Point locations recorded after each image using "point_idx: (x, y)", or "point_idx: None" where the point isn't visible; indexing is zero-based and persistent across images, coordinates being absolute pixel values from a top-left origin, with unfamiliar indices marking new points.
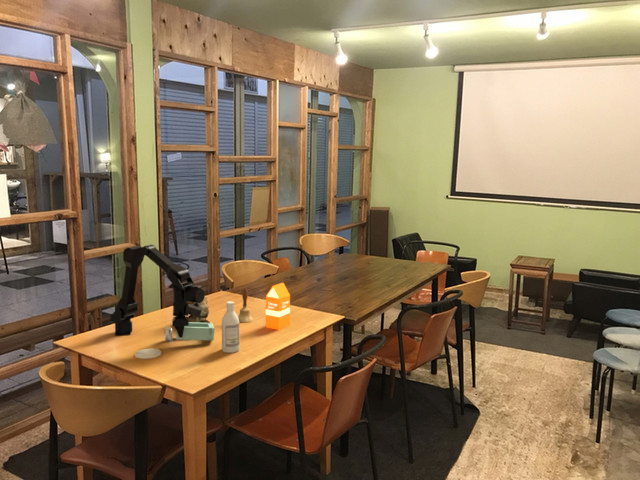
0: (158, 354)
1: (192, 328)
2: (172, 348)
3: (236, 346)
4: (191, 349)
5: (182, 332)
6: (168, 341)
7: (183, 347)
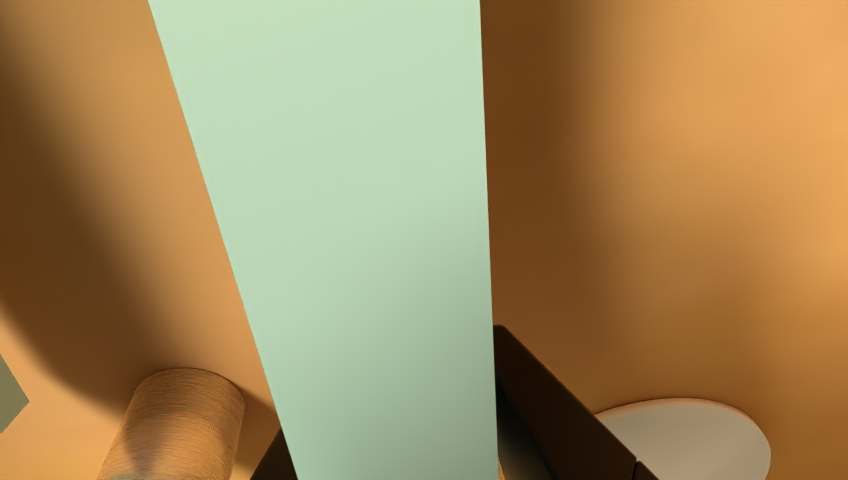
0: (719, 419)
1: (479, 224)
2: (516, 320)
3: None
4: (656, 30)
5: (586, 420)
6: (241, 407)
7: (509, 184)
